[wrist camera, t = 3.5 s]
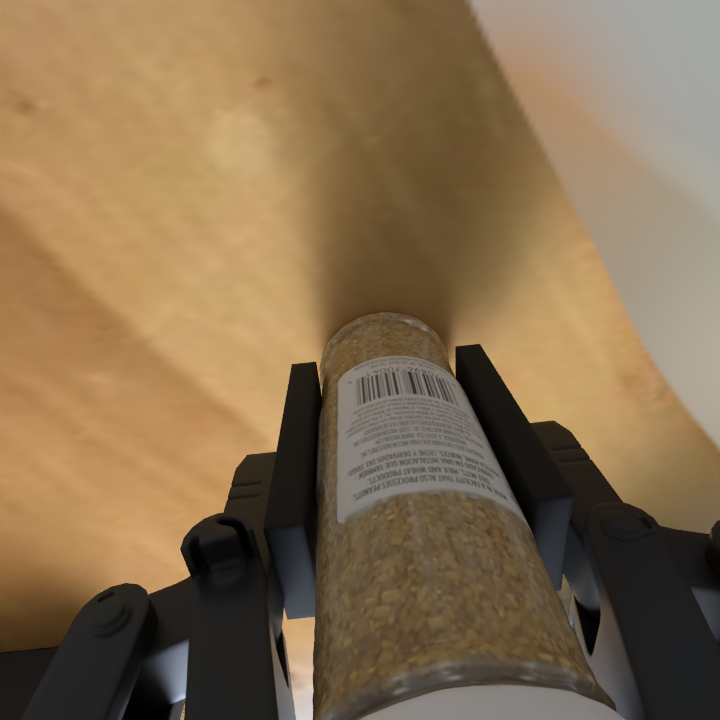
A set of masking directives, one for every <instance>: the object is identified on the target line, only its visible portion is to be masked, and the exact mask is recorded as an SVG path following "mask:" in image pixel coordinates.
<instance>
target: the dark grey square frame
mask: <svg viewBox="0 0 720 720" xmlns="http://www.w3.org/2000/svg"><path fill="white" fill-rule="evenodd" d="M57 650H58V648H49V649H40V650H30V651H21V652H11V653H2V654H0V720H20V719H21V717H22V715H23V713H24V712H25V710H26V708H27V706H28V704H29V702H30V700H31V699H32V697H33V695H34V693H35V691H36V689H37V687H38V686H39V684H40V682H41V680H42V678H43V676H44V674H45V673H46V671H47V669H48V667H49V665H50V663H51V661H52V660H53V658H54V656H55V654H56V652H57Z"/></svg>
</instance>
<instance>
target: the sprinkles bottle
mask: <svg viewBox="0 0 720 720" xmlns="http://www.w3.org/2000/svg"><path fill="white" fill-rule="evenodd" d="M320 385H321V389H322V409H321V411H320V416H319V423H318V444H317V466H316V501H317V505H318V517H317V523H318V526H317V547H316V577H315V621H316V622H315V630H314V636H315V641H314V651H313V666H314V672H313V688H314V693H313V720H625V719H624V718H623V717H622V716H620V715H619V714H618V713H617V712H616V711H617V710H616V705H615V703H614V701H613V700H612V699H611V698H610V697H609V695H608V694H607V693H606V692H605V691H604V690H603V689H602V687H601V686H600V685H599V684H598V682H597V680H596V678H595V676H594V673H593V671H592V670H591V668H590V667H589V665H588V663H587V661H586V659H585V656H584V654H583V651H582V648H581V645H580V642H579V639H578V637H577V636H576V634H575V632H574V630H573V628H572V627H571V625H570V622H569V620H568V617H567V614H566V612H565V609H564V607H563V605H562V602H561V600H560V598H559V596H558V594H557V592H556V590H555V588H554V586H553V584H552V582H551V579H550V576H549V574H548V573H547V571H546V569H545V566H544V564H543V562H542V559H541V557H540V555H539V552H538V551H537V547H536V542H535V539H534V536H533V534H532V531H531V529H530V527H529V525H528V523H527V521H526V519H525V517H524V515H523V512H522V510H521V508H520V506H519V504H518V502H517V500H516V498H515V496H514V494H513V492H512V489H511V487H510V485H509V483H508V481H507V479H506V477H505V475H504V472H503V470H502V468H501V466H500V464H499V462H498V460H497V458H496V456H495V454H494V452H493V450H492V447H491V445H490V443H489V441H488V439H487V437H486V435H485V433H484V431H483V429H482V426H481V424H480V422H479V420H478V418H477V416H476V414H475V412H474V410H473V408H472V406H471V404H470V402H469V400H468V398H467V395H466V393H465V391H464V390H463V388H462V387H461V385H460V384H459V382H458V381H457V380H456V378H455V376H454V374H453V372H452V370H451V367H450V365H449V358H448V355H447V351H446V349H445V348H444V345H443V342H442V341H441V339H440V338H439V336H438V335H437V334H436V332H435V331H434V330H433V329H431V328H430V327H429V326H428V325H427V324H425V323H424V322H422V321H421V320H419V319H417V318H415V317H411V316H408V315H405V314H401V313H391V312H380V313H374V314H368V315H365V316H361V317H359V318H357V319H355V320H353V321H351V322H350V323H348V324H347V325H346V326H344V327H342V328H341V329H340V330H339V332H338V333H336V334H335V335H334V337H333V338H332V339H331V340H330V341H329V342H328V344H327V345H326V347H325V350H324V352H323V356H322V359H321V363H320Z"/></svg>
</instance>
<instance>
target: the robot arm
mask: <svg viewBox="0 0 720 720" xmlns="http://www.w3.org/2000/svg"><path fill="white" fill-rule="evenodd" d="M456 380H457V381H458V382H459V384H460V385H461V387H462V388H463V390H464V391H465V393H466V395H467V398H468V400H469V402H470V404H471V406H472V408H473V410H474V412H475V414H476V416H477V418H478V420H479V422H480V424H481V426H482V429H483V431H484V433H485V435H486V437H487V439H488V441H489V443H490V445H491V447H492V450H493V452H494V454H495V456H496V458H497V460H498V462H499V464H500V466H501V468H502V470H503V472H504V475H505V477H506V479H507V481H508V483H509V485H510V487H511V489H512V492H513V494H514V496H515V498H516V500H517V502H518V504H519V506H520V508H521V510H522V512H523V515H524V517H525V519H526V521H527V523H528V525H529V527H530V529H531V531H532V534H533V536H534V539H535V542H536V547H537V551H538V552H539V555H540V557H541V559H542V562H543V564H544V566H545V569H546V571H547V573H548V574H549V576H550V579H551V582H552V584H553V586H554V588H555V590H556V591H561V584H562V578H563V573H564V575H565V577H566V579H567V581H568V583H569V585H570V587H571V589H572V591H573V592H572V597H571V603H570V609H569V615H568V620H569V622H570V625H571V627H572V628H573V629H574V625H575V629H576V633H577V637H578V639H579V642H580V645H581V648H582V651H583V654H584V656H585V659H586V661H587V663H588V665H589V667H590V668H591V670H592V671H593V673H594V676H595V678H596V680H597V682H598V684H599V685H600V686H601V687H602V689H603V690H604V691H605V692H606V693H607V694H608V695H609V697H610V698H611V699H612V700H613V701H614V703H615V705H616V710H617V711H616V712H617V713H618V714H619V715H620V716H622V717H623V718H624V719H625V720H720V520H719V521H717V522H716V523H715V525H714V526H713V527H712V529H711V532H710V534H704V533H697V532H690V531H683V530H676V529H671V528H666V527H662V526H659V525H658V523H657V522H656V521H655V519H654V518H653V517H651V516H650V515H649V514H647V513H646V512H644V511H643V510H642V509H639V508H637V507H634V506H632V505H630V504H627V503H623V501H622V500H621V499H620V497H619V496H618V495H617V493H616V492H615V491H614V489H613V488H612V487H611V485H610V484H609V483H608V481H607V480H606V479H605V477H604V476H603V475H602V473H601V472H600V470H599V469H598V468H597V466H596V465H595V464H594V462H593V461H592V460H590V458H589V456H588V454H587V453H586V452H585V450H584V449H583V448H581V445H580V444H579V442H578V441H577V440H576V438H575V437H574V435H573V434H572V433H571V432H570V431H569V430H567V429H566V428H564V427H563V426H561V425H560V424H558V423H557V422H555V421H545V422H536V423H529V421H528V420H527V418H526V417H525V415H524V414H523V412H522V410H521V409H520V407H519V406H518V404H517V402H516V401H515V399H514V398H513V396H512V394H511V393H510V391H509V390H508V388H507V387H506V385H505V383H504V382H503V380H502V379H501V377H500V375H499V374H498V372H497V371H496V369H495V367H494V366H493V364H492V363H491V361H490V360H489V358H488V356H487V355H486V353H485V352H484V350H483V348H482V347H481V345H480V344H475V345H466V346H457V347H456ZM321 409H322V395H321V389H320V383H319V377H318V371H317V364H316V362H310V363H301V364H292V367H291V373H290V379H289V384H288V390H287V396H286V401H285V407H284V413H283V418H282V424H281V430H280V435H279V441H278V447H277V452H270V453H261V454H252V455H247V456H246V457H245V459H244V460H243V461H242V462H241V464H240V465H239V466H238V467H237V468H236V471H235V474H234V478H233V481H232V487H231V488H230V492H229V495H228V500H227V502H226V506H225V509H224V513H218V514H215V515H213V516H210V517H208V518H205V519H203V520H202V521H201V522H199V523H198V524H196V525H195V526H194V527H192V529H191V530H190V531H189V532H188V534H187V535H186V536H185V537H184V540H183V543H182V546H181V549H180V550H181V552H182V555H183V557H184V560H185V562H186V565H187V567H188V570H189V572H190V575H191V576H190V577H188V578H187V579H185V580H183V581H181V582H179V583H177V584H174V585H172V586H169V587H167V588H164V589H161V590H159V591H156V592H154V593H151V594H149V595H148V593H147V591H146V590H145V589H144V588H142V587H141V586H139V585H138V584H129V583H125V584H121V585H117V586H113V587H110V588H108V589H107V590H105V591H103V592H101V593H99V594H97V595H96V596H95V597H94V598H92V599H91V600H90V601H89V602H88V603H87V604H86V605H84V606H83V608H82V609H81V611H80V612H79V613H78V615H77V616H76V617H75V619H74V621H73V622H72V624H71V626H70V628H69V630H68V632H67V634H66V635H65V637H64V639H63V641H62V643H61V645H60V647H59V648H58V650H57V652H56V654H55V656H54V658H53V660H52V661H51V663H50V665H49V667H48V669H47V671H46V673H45V674H44V676H43V678H42V680H41V682H40V684H39V686H38V687H37V689H36V691H35V693H34V695H33V697H32V699H31V700H30V702H29V704H28V706H27V708H26V710H25V712H24V713H23V715H22V717H21V719H20V720H180V717H181V713H182V709H183V706H184V702H185V717H184V720H296V717H295V710H294V702H293V694H292V687H291V679H290V672H289V664H288V656H287V649H286V641H285V637H284V634H283V631H282V620H283V610H284V608H285V611H286V615H287V619H297V618H307V617H315V577H316V547H317V526H318V523H317V517H318V505H317V501H316V466H317V444H318V423H319V416H320V411H321ZM185 698H186V699H185Z"/></svg>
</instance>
